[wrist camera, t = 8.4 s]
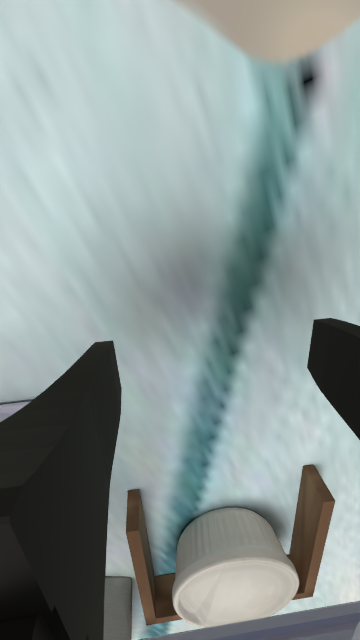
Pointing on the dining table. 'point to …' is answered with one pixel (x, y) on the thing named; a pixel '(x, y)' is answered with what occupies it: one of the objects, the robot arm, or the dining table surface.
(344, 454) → the dining table surface
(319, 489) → the box
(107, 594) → the soda pack
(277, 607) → the ramekin
